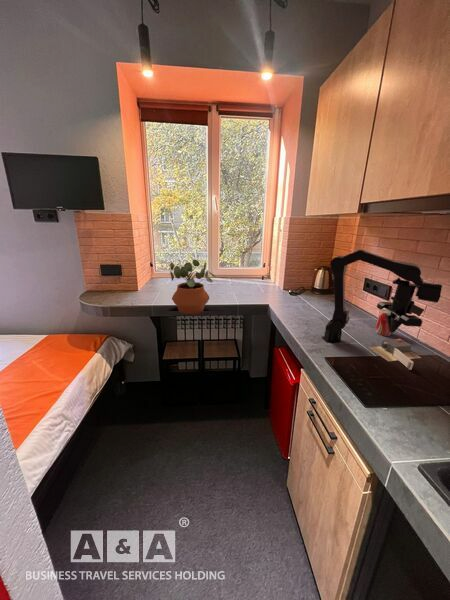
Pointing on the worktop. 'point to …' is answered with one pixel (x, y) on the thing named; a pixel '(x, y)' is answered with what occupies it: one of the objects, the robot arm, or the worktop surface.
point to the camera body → (396, 345)
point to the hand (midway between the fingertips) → (391, 332)
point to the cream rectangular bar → (403, 358)
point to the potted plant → (190, 289)
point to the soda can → (382, 324)
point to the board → (388, 355)
